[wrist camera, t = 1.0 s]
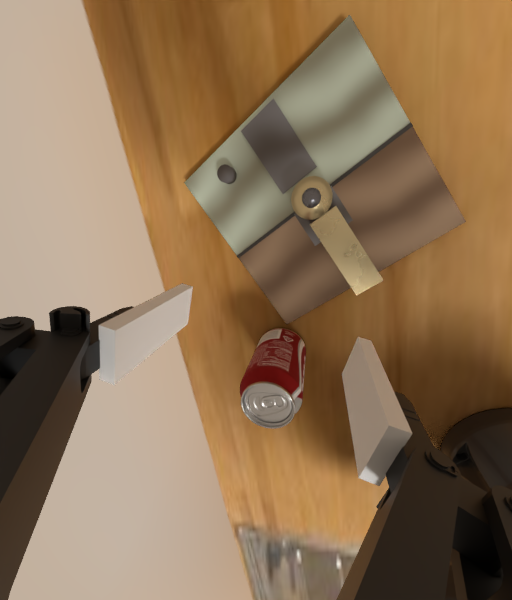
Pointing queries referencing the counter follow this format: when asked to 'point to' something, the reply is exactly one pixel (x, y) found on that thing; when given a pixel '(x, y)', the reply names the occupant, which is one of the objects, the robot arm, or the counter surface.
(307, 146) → the latch board
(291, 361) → the soda can
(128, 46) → the counter surface
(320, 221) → the swing bar
